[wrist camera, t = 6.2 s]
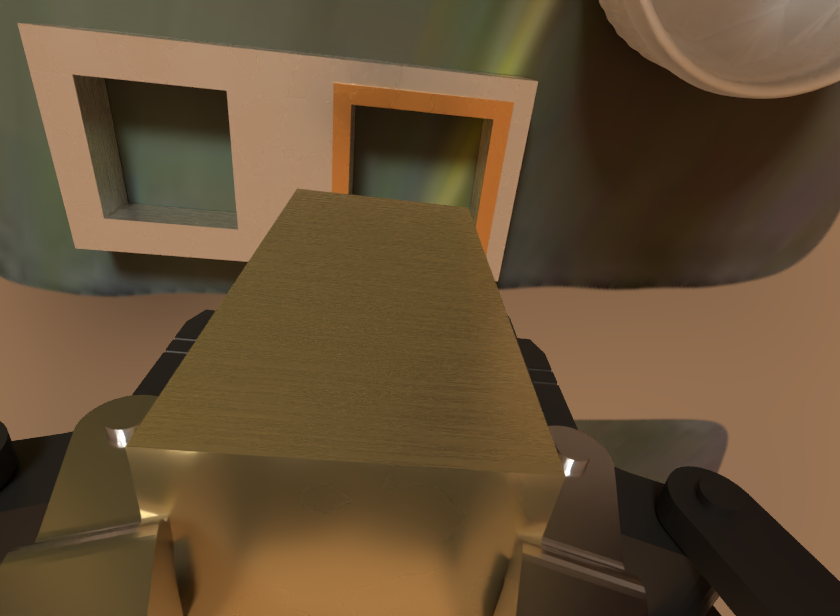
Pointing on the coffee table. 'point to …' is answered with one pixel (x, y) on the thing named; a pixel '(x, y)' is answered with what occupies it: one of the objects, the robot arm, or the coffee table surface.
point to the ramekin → (736, 42)
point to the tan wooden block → (351, 424)
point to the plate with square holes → (254, 132)
